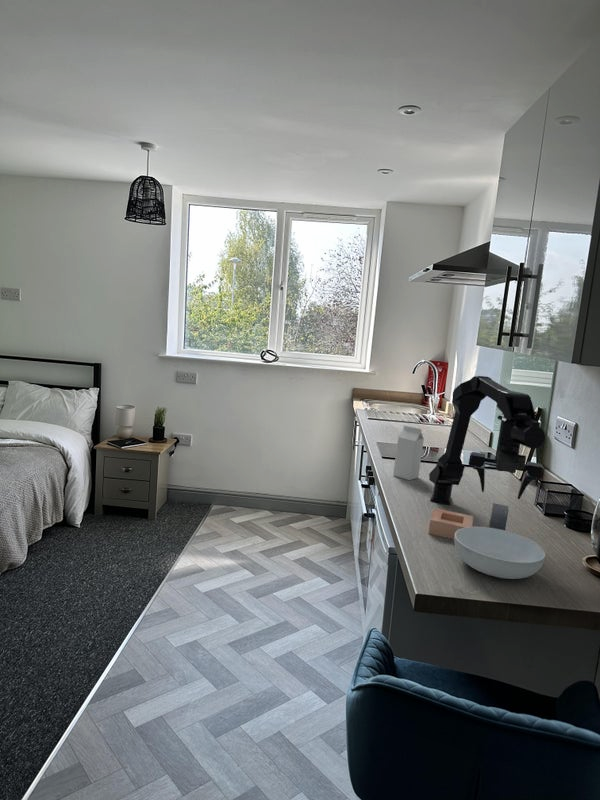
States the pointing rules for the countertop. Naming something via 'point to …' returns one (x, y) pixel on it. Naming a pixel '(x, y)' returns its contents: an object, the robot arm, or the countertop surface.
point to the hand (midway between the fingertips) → (500, 495)
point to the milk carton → (408, 453)
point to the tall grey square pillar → (498, 516)
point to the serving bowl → (499, 552)
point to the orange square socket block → (448, 522)
